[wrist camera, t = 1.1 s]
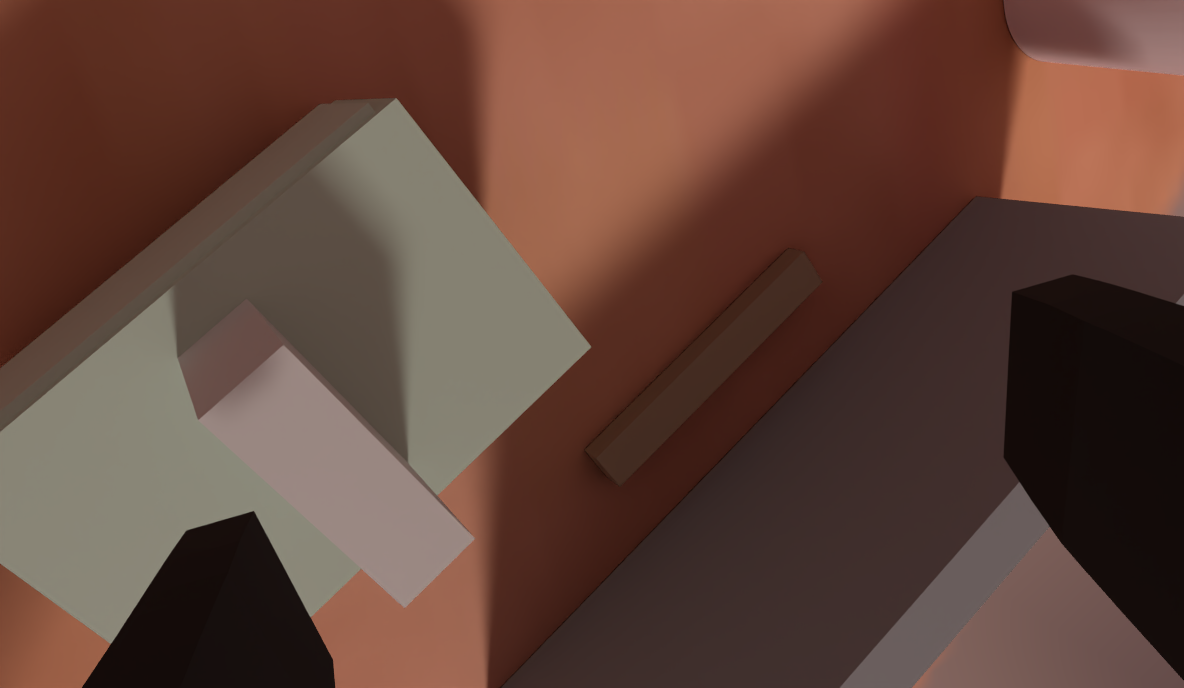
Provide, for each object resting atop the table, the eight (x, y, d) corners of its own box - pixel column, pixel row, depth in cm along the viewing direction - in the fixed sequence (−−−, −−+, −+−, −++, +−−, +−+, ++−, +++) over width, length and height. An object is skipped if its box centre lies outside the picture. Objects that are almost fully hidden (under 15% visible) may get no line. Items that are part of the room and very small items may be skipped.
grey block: (182, 573, 19) (234, 851, 12) (-44, 392, 16) (-148, 602, 9) (484, 296, 20) (688, 393, 13) (318, 94, 18) (459, 84, 11)
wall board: (525, 734, 23) (679, 959, 17) (405, 627, 21) (531, 838, 15) (996, 238, 27) (1263, 276, 21) (932, 105, 25) (1207, 103, 18)
